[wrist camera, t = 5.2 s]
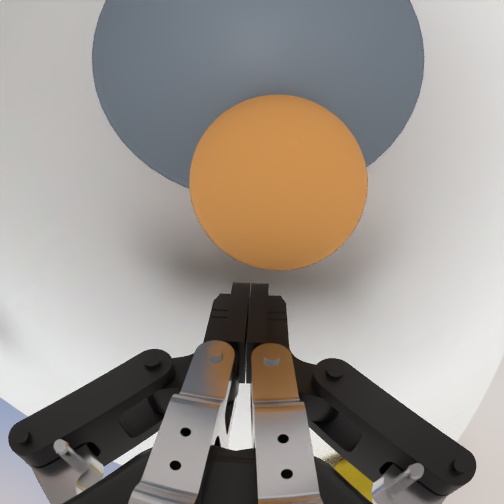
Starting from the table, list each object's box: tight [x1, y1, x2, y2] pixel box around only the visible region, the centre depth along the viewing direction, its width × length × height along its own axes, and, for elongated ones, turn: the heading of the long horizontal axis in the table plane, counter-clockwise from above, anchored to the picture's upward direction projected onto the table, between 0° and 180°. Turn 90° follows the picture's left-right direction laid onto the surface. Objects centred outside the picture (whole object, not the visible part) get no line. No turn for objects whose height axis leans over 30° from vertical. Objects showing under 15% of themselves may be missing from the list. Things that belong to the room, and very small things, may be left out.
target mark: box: [92, 0, 424, 189], centre depth 9 cm, size 14×14×1 cm
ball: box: [189, 94, 368, 271], centre depth 9 cm, size 6×6×6 cm
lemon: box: [333, 459, 373, 502], centre depth 21 cm, size 6×6×8 cm
